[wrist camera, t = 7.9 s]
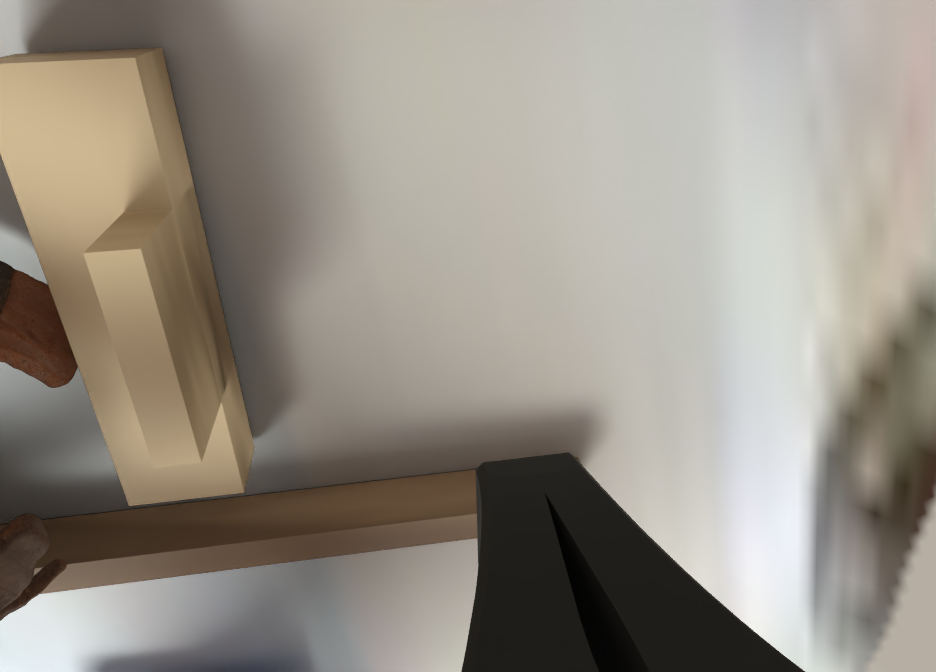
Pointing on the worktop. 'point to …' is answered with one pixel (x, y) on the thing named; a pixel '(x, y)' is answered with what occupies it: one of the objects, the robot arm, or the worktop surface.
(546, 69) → the worktop surface
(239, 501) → the wooden frame
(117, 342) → the beige wooden block
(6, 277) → the pottery mug
